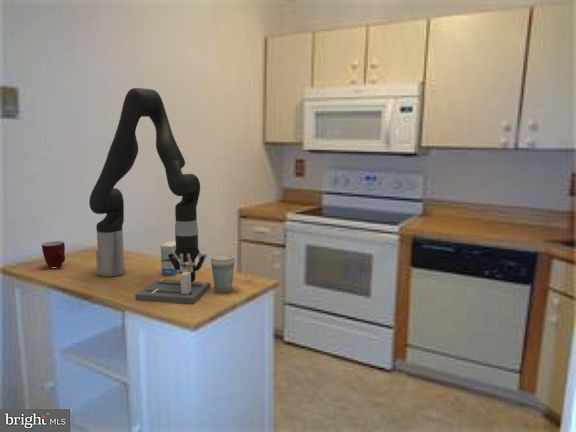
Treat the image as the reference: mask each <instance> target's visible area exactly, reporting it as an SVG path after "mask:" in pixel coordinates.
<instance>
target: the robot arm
mask: <svg viewBox="0 0 576 432" xmlns="http://www.w3.org/2000/svg"><path fill="white" fill-rule="evenodd" d="M164 105H165V104H164V102H163V99H162V97H161V95H160V94H159V92H157V91H156V90H154V89H150V88H143V87H142V88H139V87H133V88H131V89H129V90H128V91H127V93H126V95H125V98H124V101H123V103H122V108H121V111H120V112H121V113H120V117H119V121H118V124H117V128H116V131H115V133H114V137H113V140H112V142H111V144H110V148H109V149H108V152H107V155H106V159H105V162H104V165H103V167H102V170H101V171H100V174H99V176H98V179H97V181H96V183H95V185H94V187H93V189H92V191H91V192H90V196H89V208H90V210H91V211H92V213H94V214H97V215H104V214H105V216H104V218H102V220H100V221H99V222H98V223H96V225H95V226H96V228H95V229H96V238H97V239H96V240H97V249H96V251H95V260H96V275H97V276H101V277H105V278H106V277H109V278H111V277H117V276H122V275H123V274H125V273H126V266H125V249H124V246H125V245H124V233H123V225H124V222H125V214H124V213H125V210H124V209H125V206H124V205H125V203H124V201H125V200H124V197H123V193H122V191H121V190H120V189H118V188H116V185H117V184H118V183H119V181H120V180H121V179H123V178H124V177H126V175H127V174H128V173H129V172H130V171H131V169H132V168H133V166H134V164H135V161H136V159H137V156H138V154H139V144H138V143H139V142H138V139H137V136H136V133H137V132H136V131H137V126H138V124H139V121H140V120H141V118H142V117H143V118H144V117H146V118H147V117H148V118H149V119H150V120H151V122H152V123H153V124H152V125H153V126H154V129H155V148H156V152H157V154H158V156H159V160H160V161H161V163H162V165H163V166H164V170H165V175H166V176H165V177H166V181H167V186H168V188H169V190H170V191H171V193H172V194H173V195H175V196H177V197H182V198H181V201H179V202H177V204H176V205H175V207H174V210H175V211H174V213H175V214H174V216H175V217H174V218H175V222H174V235H175V241H176V250H175V252H172V253H170V254H169V255H168V257H169V259H170V261H171V262H172V264H173V266H174V268H175V269H176V270H179V273H180V277H181V274H182V273H183V266H185V265H186V264H188V265H189V267H190V272H191V283H192V282H194V281H196V272H198V271H199V270H200V269H201V268H202V266H203V264H204V263H205V260H206V258H207V254H206V253H201V252H200V249H199V226H198V218H197V217H198V216H197V206H198V202H199V197H200V194H201V193H200V192H201V184H200V183H201V182H200V180H199V177H197V175H196V174H193V173H183V172H182V171H183V170H182V169H183V168H184V167H185V166H186V165H185V164H186V161H185V157H184V156H183V154H182V152H181V150H180V148H179V146H178V143H177V142H176V140H175V138H174V137H175V136H174V134H173V131H172V129H171V124H170V121H169V117H168V115H167V111H166V109H165V106H164ZM176 255H177V256H178V258H179V259H180V263H179V262H178V260H177V258H176V257H177V256H176ZM197 257H198V262H197V264H196V259H197Z"/></svg>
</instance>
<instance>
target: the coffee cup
mask: <svg viewBox="0 0 576 432" xmlns="http://www.w3.org/2000/svg"><path fill="white" fill-rule="evenodd" d="M209 263H210V264H211V270H212V271H211V272H212V277H213V278H212V279H213V284H214V285H213V286H214V291H215V292H216V293H218V294H219V293H221V294H224V293H225V294H226V293H230V292H232V290H233V282H234V280H233V279H234V274H235V273H234V272H235V271H234V270H235V264H236V259H235V256H234V255H232V254H228V253H227V254H225V253H221V254H216V255H213V256H212V257H211V260H210V262H209ZM229 291H230V292H229Z"/></svg>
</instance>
